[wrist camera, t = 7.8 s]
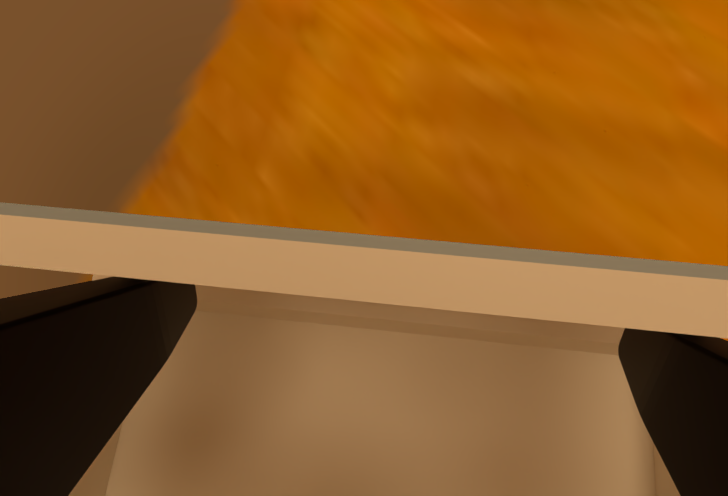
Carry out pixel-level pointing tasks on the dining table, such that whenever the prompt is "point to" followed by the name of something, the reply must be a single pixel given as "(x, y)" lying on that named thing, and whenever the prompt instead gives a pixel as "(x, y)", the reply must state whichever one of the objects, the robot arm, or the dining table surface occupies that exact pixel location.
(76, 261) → the flap
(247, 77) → the dining table surface
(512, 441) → the carton
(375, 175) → the dining table surface
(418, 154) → the dining table surface
